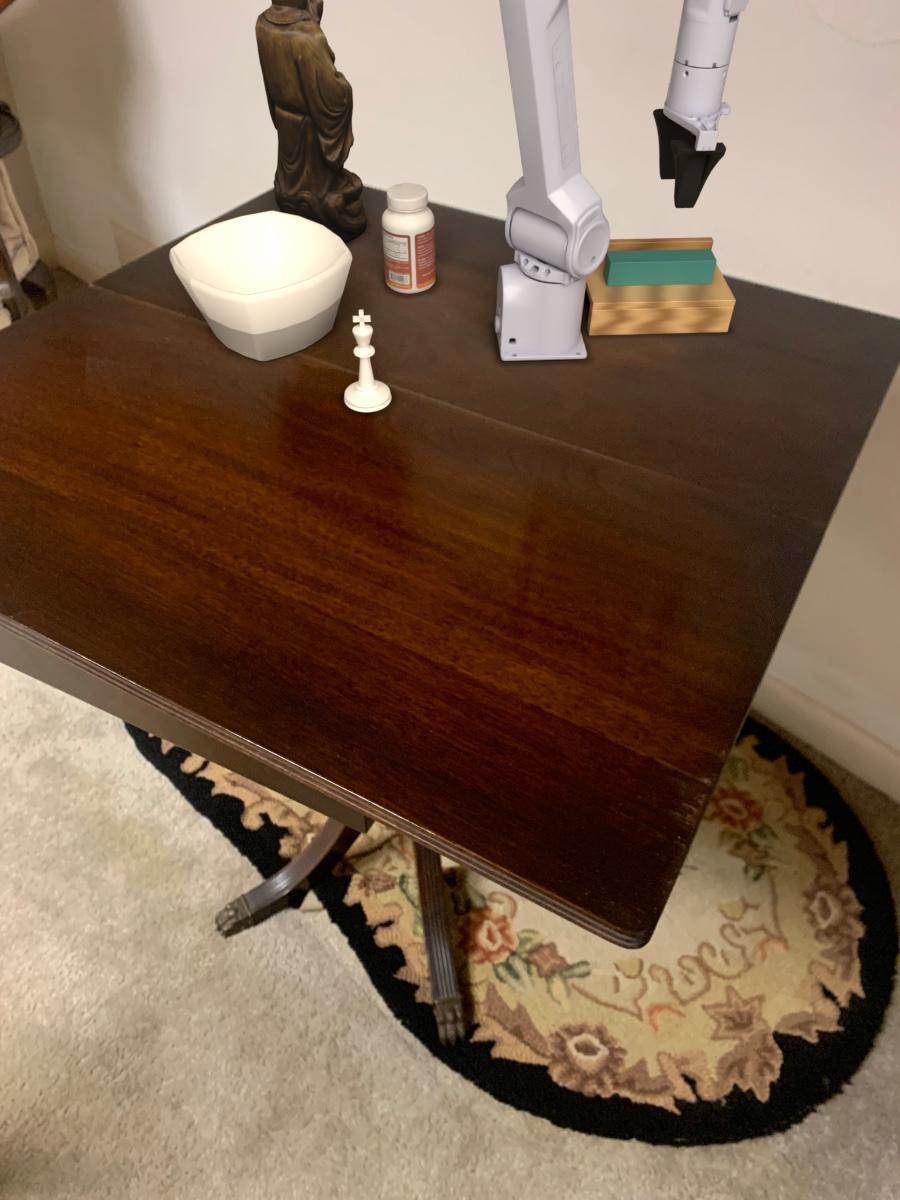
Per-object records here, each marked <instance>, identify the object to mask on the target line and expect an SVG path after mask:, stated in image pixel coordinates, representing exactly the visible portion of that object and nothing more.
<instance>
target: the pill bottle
mask: <svg viewBox="0 0 900 1200" xmlns="http://www.w3.org/2000/svg"><path fill="white" fill-rule="evenodd" d="M428 203H429V192H428V189H427V187H425V186H424V185H421V184H419V183H413V182H412V183H411V182H410V183H409V182H403V183H398V184H395V185H392V186H390V187H389V188H388V189H387V190H386V206H387V208H386V209H385V210H384V211H383V213H382V216H381V232H382V233H381V235H382V249H383V250H382V251H383V265H384V279H385V283H386V285H387V287H388V288H389V289H391V290H392V291H394V292H397V293H401V294H408V295H409V294H410V295H412V294H418V293H422V292H425V291H427V290H429V289H430V288H432V287H433V285H434V284H435V282H436V277H437V276H436V275H437V273H436V272H437V271H436V270H437V269H436V226H435V225H436V223H435V215H434V213H433V211H432V210H431V209H430V208H429V207H428Z"/></svg>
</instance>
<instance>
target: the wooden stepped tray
mask: <svg viewBox="0 0 900 1200" xmlns="http://www.w3.org/2000/svg"><path fill="white" fill-rule="evenodd" d="M713 246H714V239H713V237H711V236H709V237H708V236H705V237H704V236H702V237H701V236H700V237H698V236H697V237H660V238H659V237H656V238H655V237H653V238H652V237H651V238H610V242H609V247H608V250H607V251H640V250H686V249H711V250H713ZM605 257H606V255H605ZM605 257H604V259H603V261H602V262H601V264H600V265H599V266H598V268H597V269H596V270H595V271H593V272H592V273H591V274H590V275H588V276H587V280H586V288H585V291H586V293H587V297H588V299H589V303H590V304H589V311H588V318H587V327H586V330H587V334H588V336H623V335H624V336H625V335H659V334H661V335H663V334H665V335H666V334H696V333H697V334H702V333H703V334H704V333H728V331H729V328H730V324H731V321H732V317H733V312H734V309H735V305H736V301H737V300H736V298H735V295H734V294H733V291H732V290H731V288H730V285H729V284H728V283H727V281H726V279H725V277H724V275H723V274H722V271H721V269H720V268H719V266H718V264H717V263H716V267H715V271H714V275H713V279H712V283H711V284H682V285H639V286H607V284H606V281H605V278H604V275H603V271H604V264H605Z"/></svg>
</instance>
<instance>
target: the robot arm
mask: <svg viewBox="0 0 900 1200" xmlns="http://www.w3.org/2000/svg"><path fill="white" fill-rule="evenodd" d="M749 1H750V0H683V3H682V9H681V15H680V21H679V27H678V33H677V38H676V44H675V49H674V56H673V61H672V68H671V74H670V78H669V83H668V86H667V87H668V88H667V93H666V97H665V100H664V103H663V108H656V109H654V110H653V111H652V116H653V118H654V122H655V123H654V124H655V126H656V132H657V139H658V168H659V178H660V180H674V186H673V187H674V188H673V204H674V207H675V209H693V208H694V207H695V206H696V204H697V202H698V199H699V198H700V195H701V193H702V191H703V189H704V186H705V184H706V182H707V180H708V178H709V176H710V175H711V173H712V172H713V170H714V169H715V167H716V166H717V164H718V163H719V162H721V160H722V159H723V158H724V157H725V155H726V151H727V146H726V145H725V144H724V142H718V138H719V134H720V130H719V128H718V125H719V121H720V118H721V116H729V115H730V114H731V110H732V108H731V106H730V104H729V103H728V102H725V101H722V100H723V95H724V91H725V86H726V82H727V76H728V71H729V68H730V62H731V59H732V53H733V49H734V43H735V39H736V34H737V30H738V26H739V21H740V16H741V12H745V10H746V8H747V5H749ZM498 3H499V9H500V17H501V24H502V29H503V39H504V45H505V46H504V47H505V54H506V60H507V66H508V68H507V69H508V75H509V81H510V89H511V96H512V105H513V111H514V118H515V125H516V132H517V133H516V134H517V139H518V146H519V148H518V149H519V154H520V160H521V161H520V162H521V170H522V176H521V177H519V178H518V179H517V180H516V181H515V182H514V183H513V185H512V186H511V187H510V189H509V190H508V191H507V193H506V195H505V198H506V207H507V210H506V219H505V224H504V237H505V241H506V243H507V245H508V247H510V248H511V249H512V250H514V257H513V261H514V262H513V263H509V264H503V265H500V266H498V272H497V273H498V274H497V287H496V309H495V311H496V312H495V316H494V333H495V334H496V338H497V345H498V350H499V357H500V360H501V361H504V362H511V361H512V362H514V361H554V360H585V359H586V358H587V356H588V352H587V349H586V345H585V342H584V339H583V335H582V331H581V326H582V319H583V312H584V311H583V310H584V304H585V296H586V295H585V294H586V289H585V288H586V280H587V276H588V275H590V274H591V273H592V272H593V271H595V270H596V269H597V268H598V266H599V265H600V264H601V262H602V261H603V259H604V257H605V255H606V253H607V250H608V247H609V242H610V239H611V227H610V223H609V220H608V219H607V217H606V215H605V213H604V211H603V202H602V201H603V199H602V197H601V196H600V194H599V193H598V192H597V191H596V189H595V188H594V187H593V186H592V185H591V183H590V182H589V180H587V179H586V177H585V176H584V174H583V173H582V166H581V153H580V152H581V151H580V140H579V139H580V138H579V127H578V115H577V113H578V112H577V101H576V88H575V76H574V75H575V74H574V61H573V50H572V49H573V47H572V37H571V35H572V34H571V25H570V24H571V23H570V11H569V0H498Z"/></svg>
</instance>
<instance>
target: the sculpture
mask: <svg viewBox="0 0 900 1200" xmlns="http://www.w3.org/2000/svg"><path fill="white" fill-rule="evenodd" d="M270 1H271V5H270V6H269V7H268V8H267V9H265V10H264V11H262V12H261V13H260V14H259V15H257V18H256V21H255V26H254V32H255V40H256V47H257V54H258V61H259V65H260V70H261V76H262V81H263V85H264V86H263V87H264V91H265V96H266V97H265V98H266V101H267V106H268V111H269V112H268V113H269V115H270V119H271V122H272V124H273V126H274V129H275V130H276V132H277V133H276V134H277V159H276V160H277V161H276V169H275V173H274V179H273V193H274V194H273V195H274V201H275V204H276V207H277V208H278V209H279V212H282V213H287V214H291V215H296V216H300V217H302V218H305V219H308V220H310V221H313V222H316V223H318V224H321V225H323V226H324V227H326V228H327V229H329V230H330V231H332V232H333V233H334V234H336V235H337V236H339V237H340V238H341V240H342V241H343V242H344V243H345V242H347V241H350V240H351V239H354V238H356V237H358V236H359V235H360V234H362V233H363V231H364V230H365V229H366V228H367V224H368V216H367V215H366V214H365V213H366V212H365V207H364V204H363V201H362V200H361V198H360V197H361V195H362V193H363V190H364V184H363V180H362V179H361V177H360V176H359V175H358V174H357V173H355V172H353V171H350V170H349V169H347V168H346V167H345V163H346V162H347V160H348V158H349V155H350V152H351V149H352V147H353V146H354V142H355V136H354V132H353V113H354V93H353V87H352V84H351V83H350V82H349V81H348V79H347V78H346V76H345V74H344V73H343V72H342V71H339V70H338V69H337V67H336V66H335V63H336V54H335V52H334V50H333V49H332V47H331V46H330V44H329V42H328V39H327V37H326V35H325V32H324V30H323V29H322V27H321V21H322V18H323V14H324V5H325V4H324V0H270Z"/></svg>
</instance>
